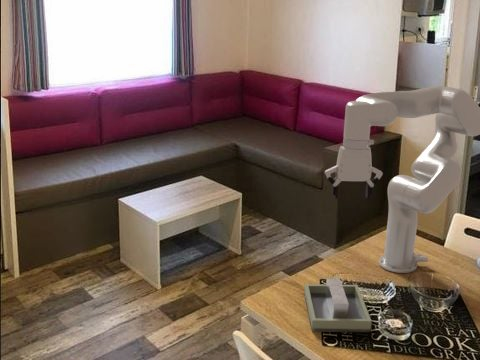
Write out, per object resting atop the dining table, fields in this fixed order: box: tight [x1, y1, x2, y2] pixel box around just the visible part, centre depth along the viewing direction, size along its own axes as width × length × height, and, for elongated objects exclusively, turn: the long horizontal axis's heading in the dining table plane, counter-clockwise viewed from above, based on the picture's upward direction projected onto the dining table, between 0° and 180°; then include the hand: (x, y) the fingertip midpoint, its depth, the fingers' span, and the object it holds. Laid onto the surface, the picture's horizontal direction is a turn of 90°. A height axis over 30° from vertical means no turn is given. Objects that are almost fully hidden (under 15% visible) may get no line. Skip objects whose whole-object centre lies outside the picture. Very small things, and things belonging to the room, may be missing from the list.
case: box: [303, 283, 372, 333], centre depth 165 cm, size 16×20×4 cm
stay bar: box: [325, 278, 349, 319], centre depth 164 cm, size 4×14×6 cm, turn 0°
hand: (351, 197), depth 174 cm, fingers open, 9 cm apart
